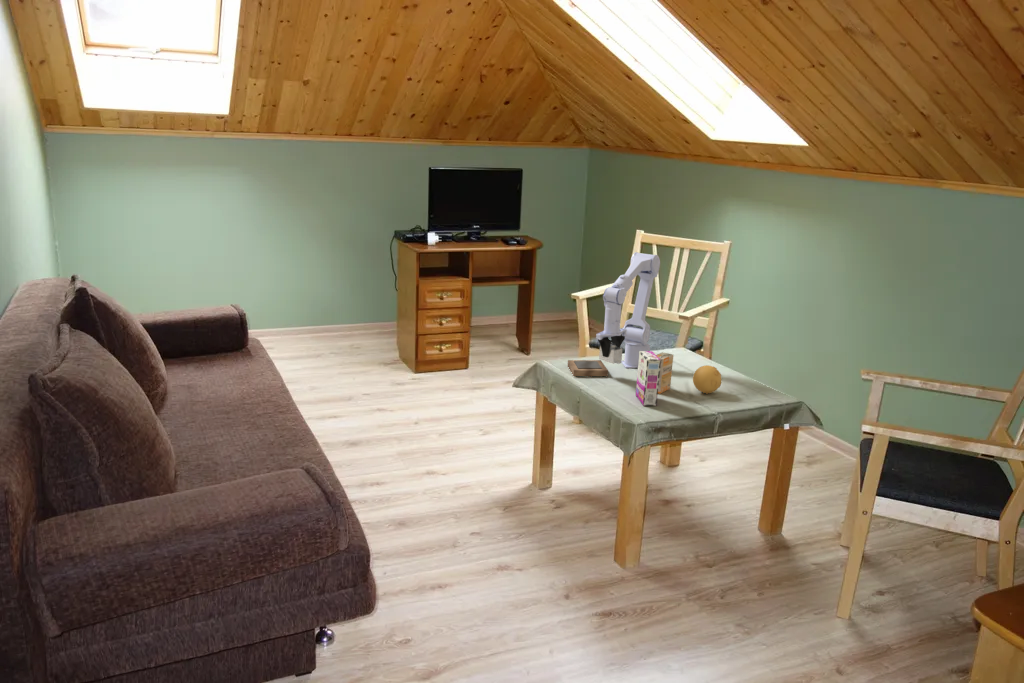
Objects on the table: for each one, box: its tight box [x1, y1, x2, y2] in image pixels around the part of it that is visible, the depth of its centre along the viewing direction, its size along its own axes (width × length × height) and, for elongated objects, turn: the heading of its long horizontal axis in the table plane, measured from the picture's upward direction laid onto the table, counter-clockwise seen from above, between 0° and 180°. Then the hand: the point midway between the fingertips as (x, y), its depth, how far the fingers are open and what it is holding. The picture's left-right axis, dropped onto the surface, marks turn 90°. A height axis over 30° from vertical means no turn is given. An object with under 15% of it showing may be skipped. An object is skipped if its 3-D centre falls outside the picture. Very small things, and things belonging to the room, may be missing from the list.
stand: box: [567, 359, 609, 378], centre depth 302 cm, size 13×13×3 cm
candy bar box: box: [635, 350, 661, 407], centre depth 271 cm, size 11×5×16 cm, turn 5°
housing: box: [598, 343, 623, 365], centre depth 294 cm, size 5×9×6 cm, turn 41°
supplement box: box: [655, 352, 674, 395], centre depth 282 cm, size 8×5×13 cm, turn 143°
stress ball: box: [692, 365, 722, 395], centre depth 282 cm, size 10×10×10 cm
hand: (610, 355), depth 295 cm, fingers closed on housing, 5 cm apart
